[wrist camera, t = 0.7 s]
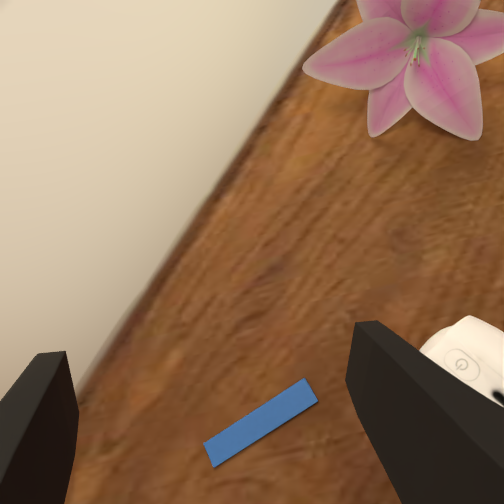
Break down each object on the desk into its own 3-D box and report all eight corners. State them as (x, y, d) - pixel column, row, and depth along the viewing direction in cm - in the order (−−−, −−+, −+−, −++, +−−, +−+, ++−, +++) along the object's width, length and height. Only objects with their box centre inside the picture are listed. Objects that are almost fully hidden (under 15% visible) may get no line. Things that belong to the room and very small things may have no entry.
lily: (306, 105, 36) (274, 91, 27) (380, -55, 32) (372, -135, 23) (448, 174, 34) (466, 183, 25) (547, 10, 30) (609, -49, 21)
